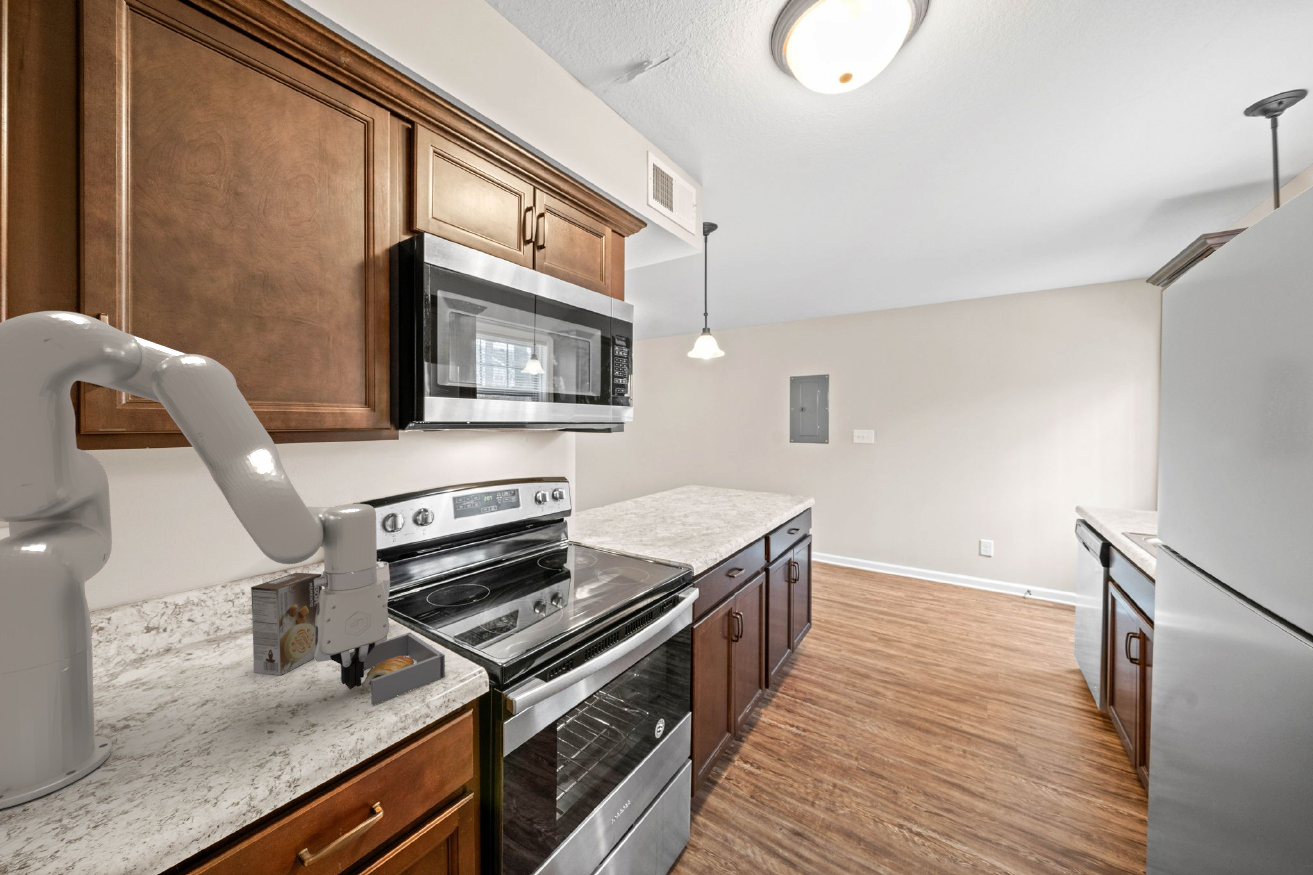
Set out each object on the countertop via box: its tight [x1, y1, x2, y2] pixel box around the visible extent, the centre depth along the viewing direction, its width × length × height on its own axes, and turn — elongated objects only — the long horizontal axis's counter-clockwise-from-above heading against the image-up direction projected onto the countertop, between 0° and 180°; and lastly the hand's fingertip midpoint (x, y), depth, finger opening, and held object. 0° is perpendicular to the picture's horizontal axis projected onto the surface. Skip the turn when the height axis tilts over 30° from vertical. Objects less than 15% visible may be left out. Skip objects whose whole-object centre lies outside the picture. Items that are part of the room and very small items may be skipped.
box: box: [349, 632, 446, 706], centre depth 87 cm, size 12×15×4 cm
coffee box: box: [250, 572, 323, 676], centre depth 92 cm, size 9×6×16 cm
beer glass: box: [377, 560, 391, 604], centre depth 105 cm, size 7×7×15 cm
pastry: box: [361, 656, 415, 693], centre depth 86 cm, size 9×7×4 cm
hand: (352, 684), depth 82 cm, fingers closed
